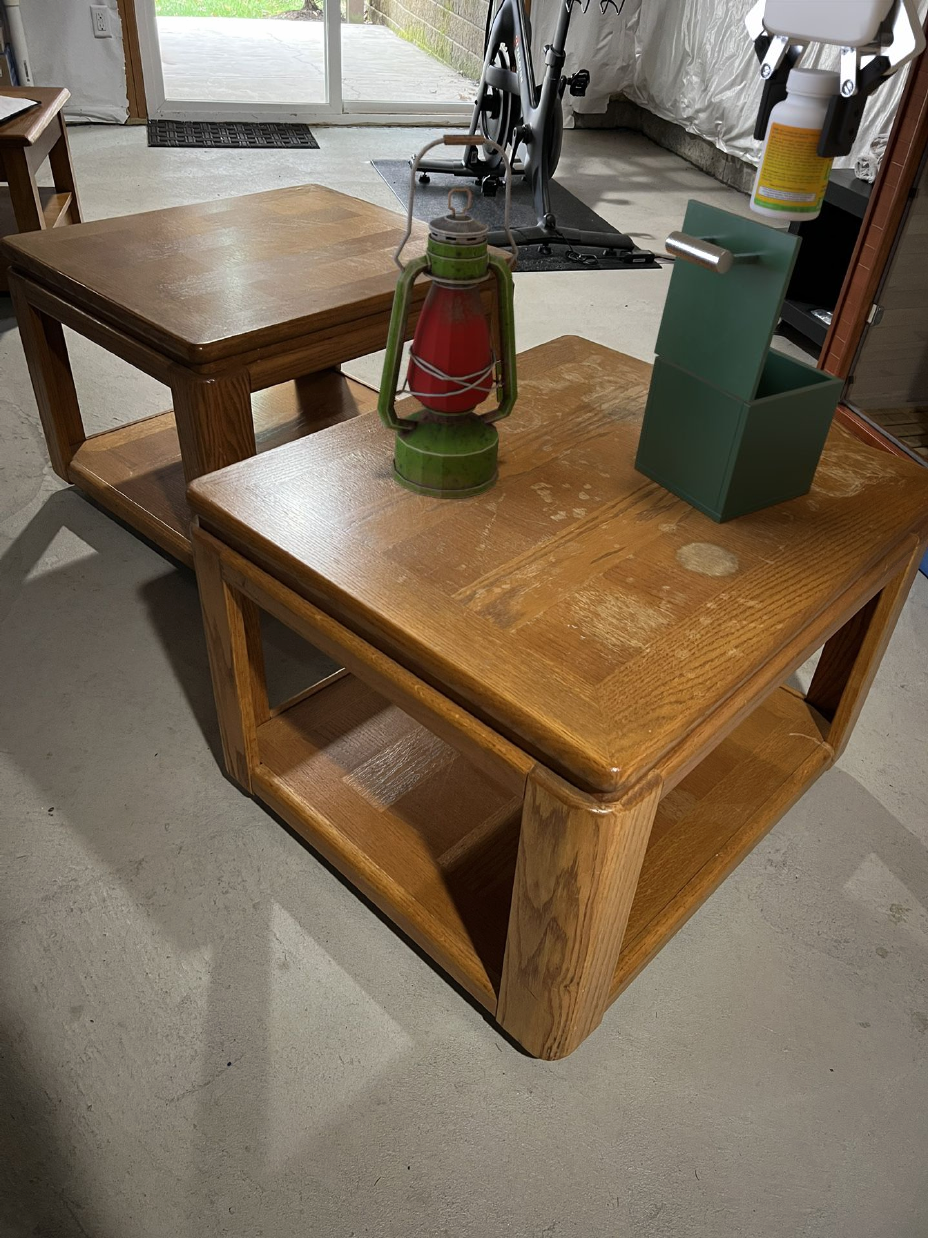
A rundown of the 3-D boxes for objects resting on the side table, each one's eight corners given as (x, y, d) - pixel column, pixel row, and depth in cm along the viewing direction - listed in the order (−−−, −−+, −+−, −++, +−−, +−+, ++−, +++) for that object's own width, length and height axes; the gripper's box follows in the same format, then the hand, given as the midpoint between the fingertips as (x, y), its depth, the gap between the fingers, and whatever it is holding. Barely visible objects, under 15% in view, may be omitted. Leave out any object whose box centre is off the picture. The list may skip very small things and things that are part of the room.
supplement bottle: (826, 224, 72) (867, 79, 66) (756, 219, 71) (791, 74, 66) (808, 206, 76) (844, 68, 70) (742, 201, 76) (773, 63, 70)
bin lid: (693, 198, 80) (646, 200, 77) (803, 237, 72) (755, 240, 69) (658, 352, 88) (614, 358, 85) (753, 401, 80) (709, 410, 77)
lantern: (492, 440, 98) (520, 121, 80) (530, 490, 90) (570, 148, 72) (363, 453, 94) (361, 120, 76) (390, 506, 86) (396, 148, 68)
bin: (721, 442, 101) (748, 336, 94) (809, 492, 93) (845, 380, 86) (633, 467, 95) (655, 356, 88) (719, 523, 87) (750, 406, 80)
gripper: (1036, -159, 56) (927, 169, 67) (811, -158, 67) (749, 123, 78) (964, -171, 53) (861, 176, 64) (738, -168, 64) (684, 127, 75)
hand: (800, 144), depth 71 cm, fingers closed on supplement bottle, 5 cm apart
